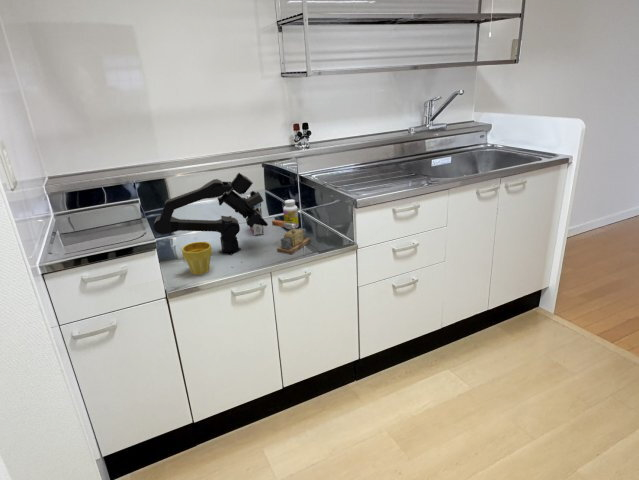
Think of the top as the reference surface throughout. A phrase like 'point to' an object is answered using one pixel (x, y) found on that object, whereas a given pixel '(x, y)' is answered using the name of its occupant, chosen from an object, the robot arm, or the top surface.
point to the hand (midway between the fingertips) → (267, 225)
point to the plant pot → (198, 256)
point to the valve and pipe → (293, 238)
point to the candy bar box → (256, 228)
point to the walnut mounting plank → (294, 247)
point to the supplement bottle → (290, 213)
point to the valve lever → (283, 224)
